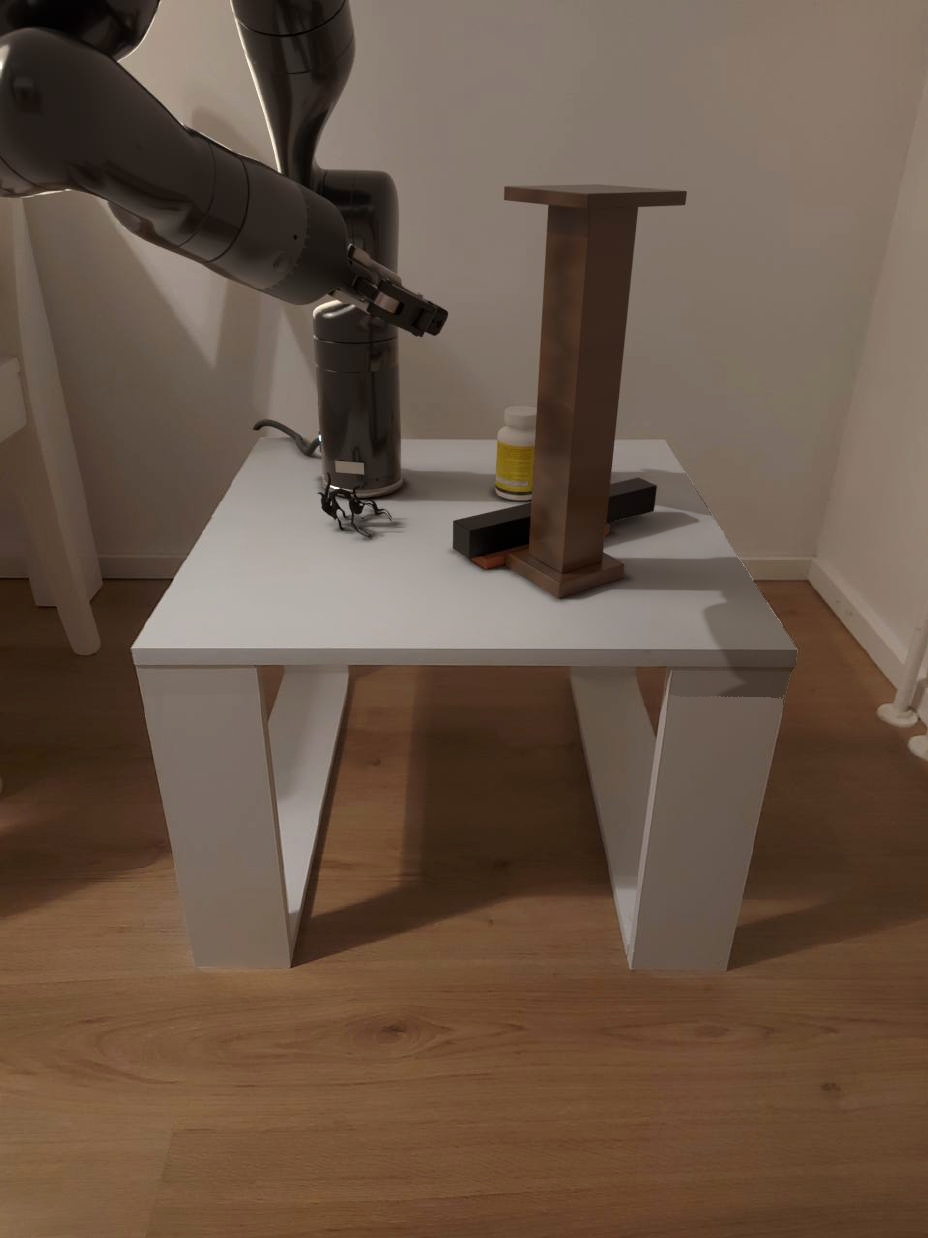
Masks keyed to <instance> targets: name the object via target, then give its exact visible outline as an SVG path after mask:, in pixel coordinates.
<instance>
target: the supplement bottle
mask: <svg viewBox="0 0 928 1238" xmlns="http://www.w3.org/2000/svg"><path fill="white" fill-rule="evenodd" d="M536 414H537V407H533V406H527V405H514V406H509V407H507V408H505V409H504V424H505V426H503V427H502V428H500V429H499V430H498V431H497V432H498V433H497V438H496V440H497V441H496V460H495V479H494V481H495V483H494V491H495V493H496V494H497V496H499V497H500V498H503V499H506V500H512V501H530V500H532V486H533V468H534V450H535V432H536Z"/></svg>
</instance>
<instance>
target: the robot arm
mask: <svg viewBox="0 0 928 1238" xmlns="http://www.w3.org/2000/svg"><path fill="white" fill-rule="evenodd" d="M162 1H163V0H0V198H8V199H23V198H31V197H36V196H42V195H49V194H54V193H61V192H66V191H74V192H79V193H82V194H85V195H90V196H93V197H95V198H98V199H101V200H103V201H105V202H106V203H107V206H108V208H109V210H110V212H111V213H112V215H113V217H114V218H115V220H116V221H117V222H118V224H120V226H122V227H123V228H124V229H125V230H127V231H128V232H130V233H131V234H132V235H134V236H136V237H137V238H138V239H139V238H140V239H141V240H143V241H146V242H147V243H150V244H152V245H154V246H156V247H158V248H162V249H163V250H166V251H168V252H171V253H174V254H175V255H178V256H181V257H184V258H185V259H188V260H189V259H190V260H191V261H194V262H195V263H198V264H199V265H202V266H203V267H205V268H206V269H208V270H210V271H211V272H213V273H215V274H217V275H219V276H221V277H223V278H225V279H228V280H230V281H232V282H235V283H237V284H240V285H242V286H245V287H246V288H247V287H248V288H250V289H253V290H256V291H257V292H259V293H263V294H265V295H268V296H271V297H273V298H275V299H278V300H280V301H283V302H285V303H288V304H291V305H293V306H305V305H311V304H313V303H315V302H317V301H319V300H321V299H322V298H323V297H325V296H326V295H328V296H329V297H331V298H333V299H332V300H329V301H327V302H324V303H322V304H320V305H318V306H317V307H315V309H314V310H313V312H312V332H313V333H312V334H313V347H314V348H313V349H314V358H315V359H314V361H315V374H316V375H315V376H316V377H315V378H316V388H317V413H318V428H319V431H318V432H317V433H318V437H317V438H314V439H313V440H312V442H310V444H309V445H308V446H306V444H305V443H304V439H303V436H302V435H301V434H300V433H298V432H296V431H295V430H293V429H291V428H290V427H289V426H287V425H285V424H283V423H282V422H279V421H277V420H273V419H270V418H269V419H268V418H264V419H261V420H258V421H257V422H256V423H255V424H254V425H253V427H252V431H260V430H261V429H262V428H264V427H270V428H274V429H276V430H278V431H280V432H283V434H285V435H286V436H289V437H290V438H292V439H293V440H294V441H295V445H296V447H297V448H298V450H299V451H300V453H302V454H303V455H305V456H310V455H312V454H314V452H315V451H316V450H317V448H319V452H320V458H321V471H322V487H323V489H324V490H325V488H326V486H327V484H328V474H327V472H328V473H329V474H330V477H331V485H330V488H329V491H328V493H330V492H332V491H334V490H336V489H338V488H341V489H345V490H347V491H350V492H352V493H353V488H354V487H355V486H360V487H359V488H358V489H357V490H356V492H357V491H358V492H357V493H356V495H357V497H358V498H359V499H360V497H361V499H362V498H363V499H364V498H365V499H366V498H367V499H368V498H376V497H382V496H385V495H389V494H393V493H395V492H396V491H398V490H399V489H401V488H402V486H403V484H404V483H403V472H402V430H401V429H402V427H401V387H400V386H401V384H400V383H401V382H400V381H401V380H400V344H399V343H400V342H399V339H400V338H399V329H401V330H404V331H406V332H408V333H410V334H411V335H413V336H414V337H415V338H416V337H417V338H418V337H420V338H423V337H424V335H425V333H426V334H428V335H431V336H433V337H436V336H438V334H440V333H441V331H442V329H443V328H444V325H445V324H446V322H447V320H448V318H449V312H448V310H446V309H445V308H443V307H442V306H441V305H438V304H436V303H434V302H433V301H431V300H429V299H426V298H425V297H424V295H423V294H422V293H420V292H415V291H413V290H412V289H410V288H408V287H406V286H405V285H403V281H402V278H401V277H400V276H399V242H400V239H399V238H400V204H399V194H398V188H397V185H396V183H395V180H394V178H392V177H393V176H391V174H389V173H388V172H387V171H383V170H372V169H335V168H330V169H328V168H322V167H321V166H320V165H319V164H318V161H317V159H316V154H317V153H316V152H317V149H318V147H319V143H320V140H321V137H322V134H323V132H324V129H325V127H326V125H327V123H328V121H329V119H330V118H331V116H332V114H333V112H334V110H335V108H336V106H337V105H338V102H339V101H340V99H341V97H342V94H343V92H344V90H345V88H346V86H347V84H348V81H349V79H350V76H351V73H352V70H353V66H354V62H355V57H356V36H355V28H354V22H353V17H352V15H353V14H352V10H351V5H350V3H351V2H350V0H229V4H230V8H231V12H232V15H233V19H234V22H235V26H236V29H237V33H238V36H239V39H240V42H241V45H242V49H243V52H244V55H245V58H246V61H247V65H248V68H249V70H250V74H251V77H252V80H253V83H254V86H255V90H256V93H257V96H258V99H259V102H260V105H261V108H262V111H263V114H264V118H265V123H266V126H267V129H268V133H269V137H270V140H271V145H272V148H273V153H274V158H275V162H276V166H277V170H276V169H274V168H272V167H271V166H269V165H268V164H265V162H262V161H260V160H258V159H256V158H253V157H250V156H248V155H245V154H241V153H239V152H237V151H235V150H233V149H231V148H229V147H227V146H226V145H224V144H222V143H220V142H218V141H217V140H215V139H213V138H211V137H210V136H207V135H206V134H205V133H202V132H201V131H198V130H197V129H195V128H193V127H191V126H189V125H187V124H185V123H183V122H181V121H179V119H178V118H177V117H176V116H175V115H174V114H173V113H172V112H171V111H170V109H168V107H167V106H166V105H165V104H164V103H163V102H162V101H161V100H160V99H158V97H157V96H156V95H154V94H153V93H152V92H151V91H150V89H148V88H147V87H146V85H143V83H142V82H140V81H139V80H138V79H137V78H136V76H135V75H133V74H132V73H131V72H130V71H128V69H126V68H125V67H124V65H122V64H121V63H120V61H122V60H124V59H126V58H128V57H129V56H130V55H131V54H133V53H134V52H135V51H136V50H137V49H138V48H139V47H140V45H141V44H142V43H143V41H145V38H146V37H147V35H148V33H149V31H150V29H151V27H152V25H153V23H154V20H155V18H156V15H157V13H158V11H159V8H160V6H161V3H162ZM367 482H368V483H367ZM366 483H367V484H366ZM364 484H366V485H365V487H364V489H363V488H361V487H362V486H363V485H364ZM360 488H361V489H360ZM362 490H363V491H362ZM361 494H362V495H361ZM336 496H340V497H345V496H344V495H343V494H337V495H336ZM351 496H352V498H355V497H354V495H353V494H351Z"/></svg>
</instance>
